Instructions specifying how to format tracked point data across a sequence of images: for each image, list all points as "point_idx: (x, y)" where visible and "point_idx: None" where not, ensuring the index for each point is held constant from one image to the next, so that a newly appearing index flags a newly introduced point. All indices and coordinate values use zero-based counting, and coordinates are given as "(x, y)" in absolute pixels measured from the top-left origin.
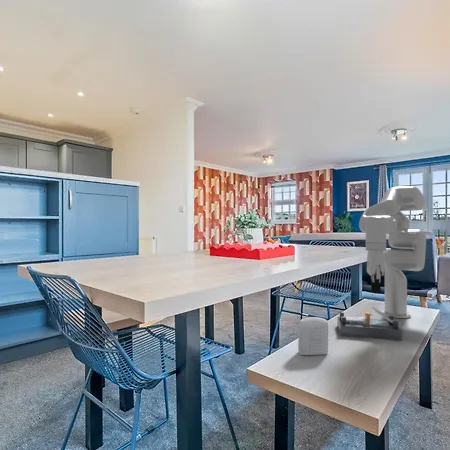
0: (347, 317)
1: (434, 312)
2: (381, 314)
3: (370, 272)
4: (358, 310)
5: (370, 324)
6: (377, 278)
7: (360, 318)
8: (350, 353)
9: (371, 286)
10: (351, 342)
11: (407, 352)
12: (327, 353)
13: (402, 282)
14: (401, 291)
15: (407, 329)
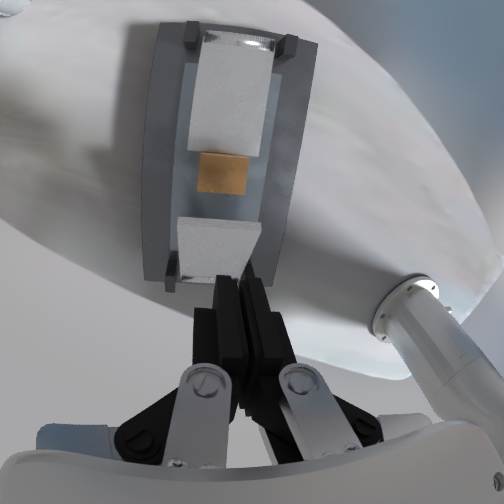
0: (250, 66)
1: (392, 378)
2: (178, 242)
3: (9, 499)
4: (459, 216)
5: (179, 167)
6: (42, 438)
7: (230, 130)
8: (15, 71)
9: (255, 311)
10: (95, 70)
11: (57, 240)
12: (8, 16)
13: (435, 405)
14: (421, 378)
15: (275, 308)
